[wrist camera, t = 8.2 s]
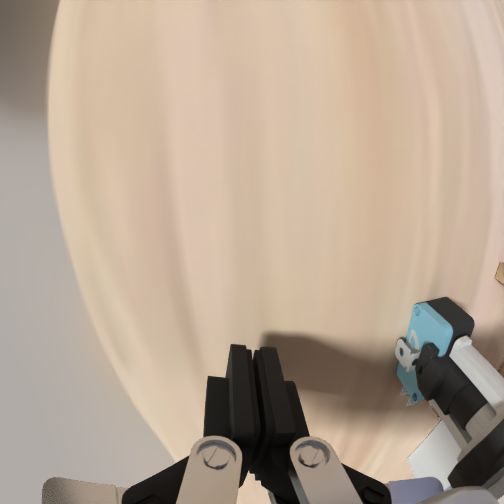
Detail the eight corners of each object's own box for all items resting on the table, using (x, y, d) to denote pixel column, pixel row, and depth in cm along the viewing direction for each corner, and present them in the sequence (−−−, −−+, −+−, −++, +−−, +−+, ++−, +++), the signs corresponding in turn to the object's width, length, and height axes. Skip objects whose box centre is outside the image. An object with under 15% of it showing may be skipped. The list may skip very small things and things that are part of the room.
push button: (432, 377, 14) (506, 487, 4) (361, 400, 13) (424, 543, 4) (463, 285, 11) (589, 395, 2) (385, 300, 11) (526, 479, 2)
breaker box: (457, 399, 15) (500, 461, 8) (500, 383, 16) (538, 429, 9) (405, 460, 18) (430, 515, 11) (454, 441, 19) (480, 486, 12)
